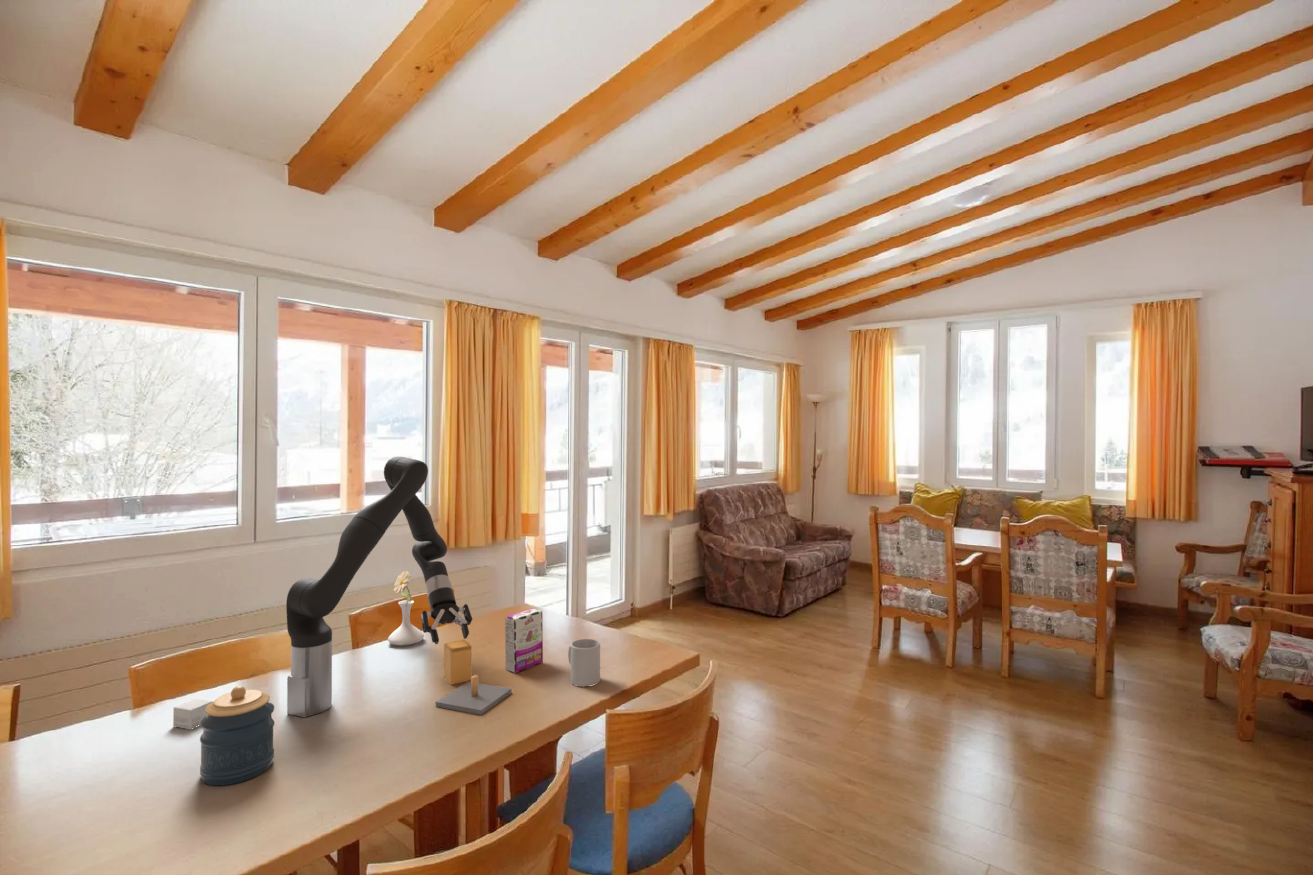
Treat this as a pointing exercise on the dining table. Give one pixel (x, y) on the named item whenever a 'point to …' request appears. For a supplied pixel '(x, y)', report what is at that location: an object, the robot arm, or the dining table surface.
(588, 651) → the mug
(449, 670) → the upright tan block
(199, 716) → the small box
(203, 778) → the canister
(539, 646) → the candy bar box
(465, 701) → the peg plate
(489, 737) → the dining table surface
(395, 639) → the flower in vase
